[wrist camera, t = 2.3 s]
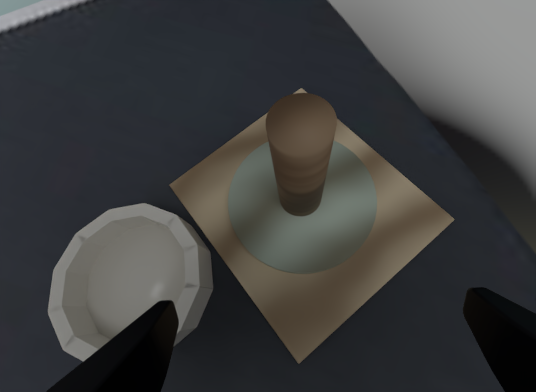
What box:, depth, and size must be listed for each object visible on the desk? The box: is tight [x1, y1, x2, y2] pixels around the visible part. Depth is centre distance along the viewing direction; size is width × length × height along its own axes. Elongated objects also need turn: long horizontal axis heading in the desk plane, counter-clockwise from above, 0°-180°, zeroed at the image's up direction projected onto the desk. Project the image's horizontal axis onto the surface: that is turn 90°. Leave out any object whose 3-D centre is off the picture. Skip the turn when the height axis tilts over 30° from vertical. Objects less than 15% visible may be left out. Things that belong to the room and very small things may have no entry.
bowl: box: [48, 203, 213, 361], centre depth 21 cm, size 11×11×3 cm
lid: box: [228, 93, 377, 274], centre depth 18 cm, size 12×12×11 cm
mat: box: [170, 88, 455, 364], centre depth 24 cm, size 18×16×1 cm
